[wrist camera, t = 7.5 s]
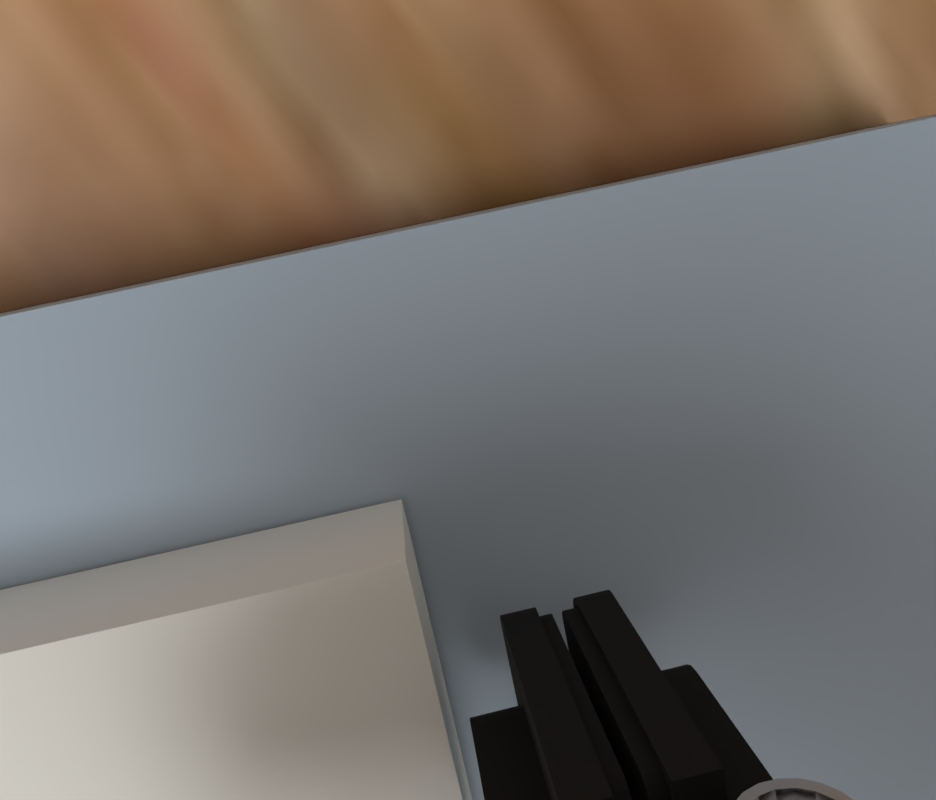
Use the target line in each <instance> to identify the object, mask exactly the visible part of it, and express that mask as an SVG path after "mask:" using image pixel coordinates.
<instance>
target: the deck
mask: <svg viewBox="0 0 936 800" xmlns="http://www.w3.org/2000/svg"><path fill="white" fill-rule="evenodd" d="M400 499H402V502H403V506H404V510H405V515H406V519H407V523H408V527H409V532H410V536H411V540H412V544H413V549H414V553H415V557H416V562H417V566H418V570H419V574H420V579H421V583H422V587H423V591H424V596H425V600H426V604H427V608H428V613H429V617H430V621H431V625H432V630H433V634H434V638H435V642H436V647H437V651H438V655H439V659H440V664H441V668H442V672H443V677H444V681H445V685H446V689H447V694H448V698H449V702H450V706H451V711H452V715H453V719H454V723H455V728H456V732H457V736H458V740H459V745H460V749H461V753H462V757H463V762H464V766H465V770H466V774H467V779H468V783H469V787H470V791H471V796H472V800H484V795H483V789H482V784H481V778H480V773H479V768H478V762H477V757H476V751H475V746H474V741H473V735H472V730H471V724H470V718H471V717H475V716H479V715H483V714H487V713H491V712H495V711H499V710H503V709H507V708H511V707H515V706H518V704H517V699H516V694H515V689H514V685H513V680H512V675H511V670H510V665H509V660H508V656H507V651H506V646H505V641H504V636H503V632H502V627H501V621H500V615H504V614H508V613H512V612H516V611H521V610H525V609H529V608H533V607H535V608H536V610H537V612H538V614H539V616H543V615H547V614H552V615H553V617H554V619H555V621H556V624H557V626H558V628H559V630H560V633H561V635H562V637H563V639H564V642H565V644H566V646H567V648H568V645H567V640H566V634H565V629H564V624H563V618H562V611H564V610H568V609H572V608H574V607H573V598H575V597H579V596H584V595H588V594H592V593H596V592H600V591H605V590H610V591H611V592H612V593H613V595H614V597H615V598H616V600H617V601H618V603H619V604H620V606H621V608H622V609H623V611H624V612H625V614H626V615H627V617H628V619H629V620H630V622H631V623H632V625H633V627H634V628H635V630H636V631H637V633H638V634H639V636H640V638H641V639H642V641H643V642H644V644H645V645H646V647H647V649H648V650H649V652H650V653H651V655H652V657H653V658H654V660H655V661H656V663H657V664H658V666H659V668H660V669H661V671H662V670H666V669H670V668H674V667H678V666H682V665H686V664H688V665H691V666H692V667H693V668H694V669H695V670H696V671H697V673H698V674H699V676H700V677H701V678H702V680H703V681H704V683H705V684H706V685H707V687H708V688H709V690H710V691H711V692H712V694H713V695H714V697H715V698H716V699H717V701H718V702H719V704H720V705H721V707H722V708H723V709H724V711H725V712H726V714H727V715H728V716H729V718H730V719H731V721H732V722H733V723H734V725H735V726H736V728H737V729H738V730H739V732H740V733H741V735H742V736H743V737H744V739H745V740H746V742H747V743H748V745H749V746H750V747H751V749H752V750H753V752H754V753H755V754H756V756H757V757H758V759H759V760H760V761H761V763H762V764H763V766H764V767H765V768H766V770H767V771H768V773H769V774H770V776H771V777H772V778H773V779H777V778H800V779H805V780H810V781H816V782H821V783H823V784H825V785H828V786H830V787H832V788H835V789H837V790H840V791H842V792H843V793H844V794H846V795H847V796H849V797H850V798H851V799H853V800H936V115H932V116H926V117H921V118H916V119H911V120H906V121H901V122H896V123H890V124H886V125H881V126H876V127H872V128H867V129H862V130H858V131H853V132H848V133H844V134H839V135H834V136H829V137H825V138H820V139H815V140H811V141H806V142H801V143H797V144H792V145H787V146H783V147H778V148H773V149H769V150H764V151H759V152H754V153H750V154H745V155H740V156H736V157H731V158H726V159H722V160H717V161H712V162H708V163H703V164H698V165H694V166H689V167H684V168H679V169H675V170H670V171H665V172H661V173H656V174H651V175H647V176H642V177H637V178H633V179H628V180H623V181H618V182H614V183H609V184H604V185H600V186H595V187H590V188H586V189H581V190H576V191H572V192H567V193H562V194H558V195H553V196H548V197H543V198H539V199H534V200H529V201H525V202H520V203H515V204H511V205H506V206H501V207H497V208H492V209H487V210H483V211H478V212H473V213H468V214H464V215H459V216H454V217H450V218H445V219H440V220H436V221H431V222H426V223H422V224H417V225H412V226H407V227H403V228H398V229H393V230H389V231H384V232H379V233H375V234H370V235H365V236H361V237H356V238H351V239H347V240H342V241H337V242H332V243H328V244H323V245H318V246H314V247H309V248H304V249H300V250H295V251H290V252H286V253H281V254H276V255H271V256H267V257H262V258H257V259H253V260H248V261H243V262H239V263H234V264H229V265H225V266H220V267H215V268H211V269H206V270H201V271H196V272H192V273H187V274H182V275H178V276H173V277H168V278H164V279H159V280H154V281H150V282H145V283H140V284H136V285H131V286H126V287H121V288H117V289H112V290H107V291H103V292H98V293H93V294H89V295H84V296H79V297H75V298H70V299H65V300H60V301H56V302H51V303H46V304H42V305H37V306H32V307H28V308H23V309H18V310H14V311H9V312H4V313H0V590H2V589H7V588H11V587H15V586H20V585H24V584H29V583H33V582H38V581H42V580H46V579H51V578H55V577H60V576H64V575H69V574H73V573H77V572H82V571H86V570H91V569H95V568H99V567H104V566H108V565H113V564H117V563H122V562H126V561H130V560H135V559H139V558H144V557H148V556H152V555H157V554H161V553H166V552H170V551H175V550H179V549H183V548H188V547H192V546H197V545H201V544H206V543H210V542H214V541H219V540H223V539H228V538H232V537H236V536H241V535H245V534H250V533H254V532H259V531H263V530H267V529H272V528H276V527H281V526H285V525H289V524H294V523H298V522H303V521H307V520H312V519H316V518H320V517H325V516H329V515H334V514H338V513H343V512H347V511H351V510H356V509H360V508H365V507H369V506H373V505H378V504H382V503H387V502H391V501H396V500H400ZM568 651H569V650H568Z"/></svg>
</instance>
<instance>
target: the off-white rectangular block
mask: <svg viewBox="0 0 936 800" xmlns="http://www.w3.org/2000/svg"><path fill="white" fill-rule="evenodd" d="M0 800H472V796H471V791H470V787H469V783H468V779H467V774H466V770H465V766H464V762H463V757H462V753H461V749H460V745H459V740H458V736H457V732H456V728H455V723H454V719H453V715H452V711H451V706H450V702H449V698H448V694H447V689H446V685H445V681H444V677H443V672H442V668H441V664H440V659H439V655H438V651H437V647H436V642H435V638H434V634H433V630H432V625H431V621H430V617H429V613H428V608H427V604H426V600H425V596H424V591H423V587H422V583H421V579H420V574H419V570H418V566H417V562H416V557H415V553H414V549H413V544H412V540H411V536H410V532H409V527H408V523H407V519H406V515H405V510H404V506H403V502H402V499H400V500H396V501H391V502H387V503H382V504H378V505H373V506H369V507H365V508H360V509H356V510H351V511H347V512H343V513H338V514H334V515H329V516H325V517H320V518H316V519H312V520H307V521H303V522H298V523H294V524H289V525H285V526H281V527H276V528H272V529H267V530H263V531H259V532H254V533H250V534H245V535H241V536H236V537H232V538H228V539H223V540H219V541H214V542H210V543H206V544H201V545H197V546H192V547H188V548H183V549H179V550H175V551H170V552H166V553H161V554H157V555H152V556H148V557H144V558H139V559H135V560H130V561H126V562H122V563H117V564H113V565H108V566H104V567H99V568H95V569H91V570H86V571H82V572H77V573H73V574H69V575H64V576H60V577H55V578H51V579H46V580H42V581H38V582H33V583H29V584H24V585H20V586H15V587H11V588H7V589H2V590H0Z"/></svg>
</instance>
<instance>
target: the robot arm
mask: <svg viewBox="0 0 936 800" xmlns="http://www.w3.org/2000/svg"><path fill="white" fill-rule="evenodd" d="M573 607H574V608H572V609H568V610H564V611H562V618H563V624H564V629H565V634H566V640H567V645H568V648H567V646H566V644H565V642H564V639H563V637H562V635H561V633H560V630H559V628H558V626H557V624H556V621H555V619H554V617H553V615H552V614H547V615H543V616H539V614H538V612H537V610H536V608H535V607H533V608H529V609H525V610H521V611H516V612H512V613H508V614H504V615H500V621H501V627H502V632H503V636H504V641H505V646H506V651H507V656H508V660H509V665H510V670H511V675H512V680H513V685H514V689H515V694H516V699H517V704H518V706H515V707H511V708H507V709H503V710H499V711H495V712H491V713H487V714H483V715H479V716H475V717H471V718H470V724H471V730H472V735H473V741H474V746H475V751H476V757H477V762H478V768H479V773H480V778H481V784H482V789H483V795H484V800H853V799H851V798H850V797H849V796H847V795H846V794H844V793H843V792H842V791H840V790H837V789H835V788H832V787H830V786H828V785H825V784H823V783H821V782H816V781H810V780H805V779H800V778H777V779H773V778H772V777H771V776H770V774H769V773H768V771H767V770H766V768H765V767H764V766H763V764H762V763H761V761H760V760H759V759H758V757H757V756H756V754H755V753H754V752H753V750H752V749H751V747H750V746H749V745H748V743H747V742H746V740H745V739H744V737H743V736H742V735H741V733H740V732H739V730H738V729H737V728H736V726H735V725H734V723H733V722H732V721H731V719H730V718H729V716H728V715H727V714H726V712H725V711H724V709H723V708H722V707H721V705H720V704H719V702H718V701H717V699H716V698H715V697H714V695H713V694H712V692H711V691H710V690H709V688H708V687H707V685H706V684H705V683H704V681H703V680H702V678H701V677H700V676H699V674H698V673H697V671H696V670H695V669H694V668H693V667H692V666H691V665H688V664H686V665H682V666H678V667H674V668H670V669H666V670H662V671H661V669H660V668H659V666H658V664H657V663H656V661H655V660H654V658H653V657H652V655H651V653H650V652H649V650H648V649H647V647H646V645H645V644H644V642H643V641H642V639H641V638H640V636H639V634H638V633H637V631H636V630H635V628H634V627H633V625H632V623H631V622H630V620H629V619H628V617H627V615H626V614H625V612H624V611H623V609H622V608H621V606H620V604H619V603H618V601H617V600H616V598H615V597H614V595H613V593H612V592H611V591H610V590H605V591H600V592H596V593H592V594H588V595H584V596H579V597H575V598H573ZM568 650H569V651H568Z"/></svg>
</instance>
